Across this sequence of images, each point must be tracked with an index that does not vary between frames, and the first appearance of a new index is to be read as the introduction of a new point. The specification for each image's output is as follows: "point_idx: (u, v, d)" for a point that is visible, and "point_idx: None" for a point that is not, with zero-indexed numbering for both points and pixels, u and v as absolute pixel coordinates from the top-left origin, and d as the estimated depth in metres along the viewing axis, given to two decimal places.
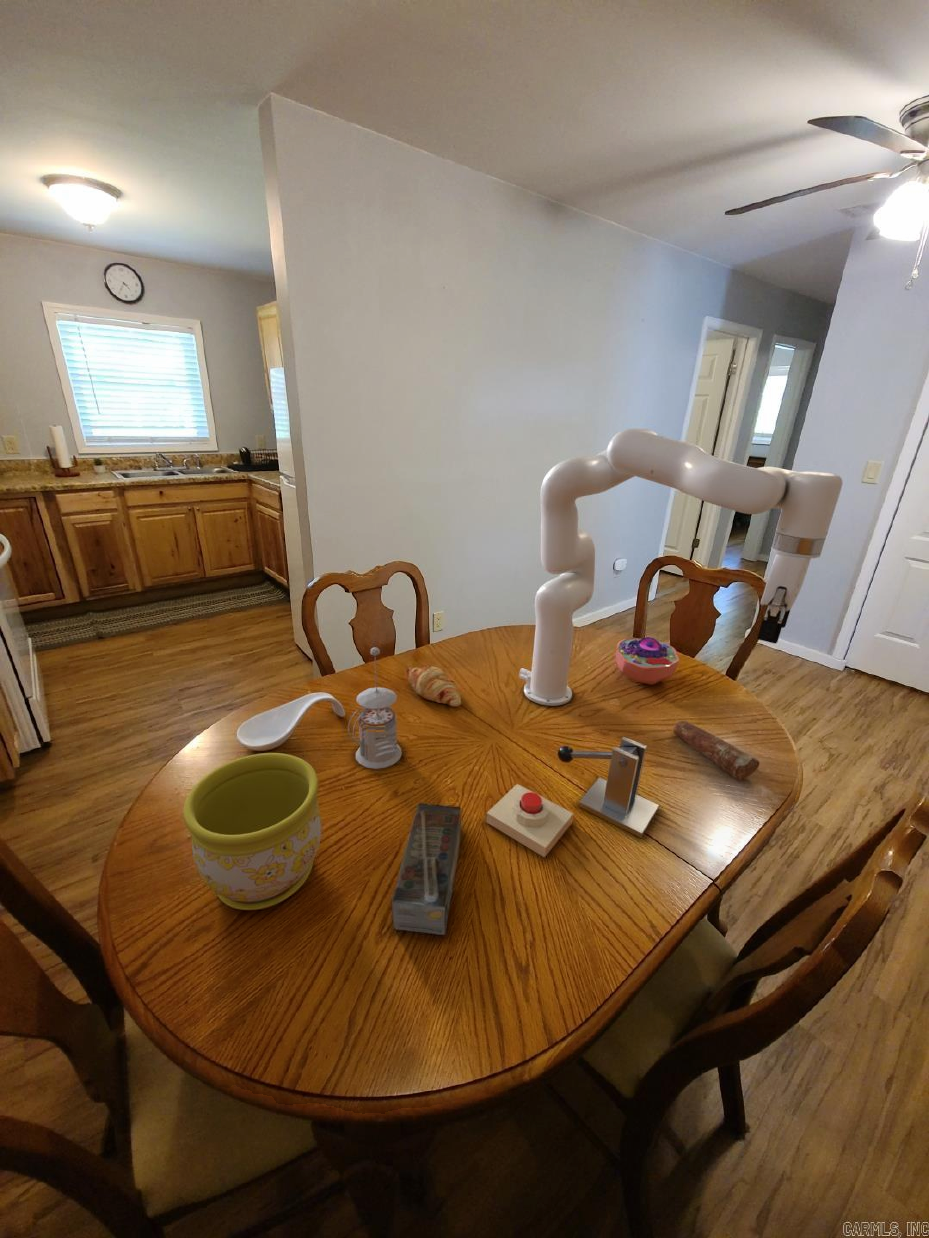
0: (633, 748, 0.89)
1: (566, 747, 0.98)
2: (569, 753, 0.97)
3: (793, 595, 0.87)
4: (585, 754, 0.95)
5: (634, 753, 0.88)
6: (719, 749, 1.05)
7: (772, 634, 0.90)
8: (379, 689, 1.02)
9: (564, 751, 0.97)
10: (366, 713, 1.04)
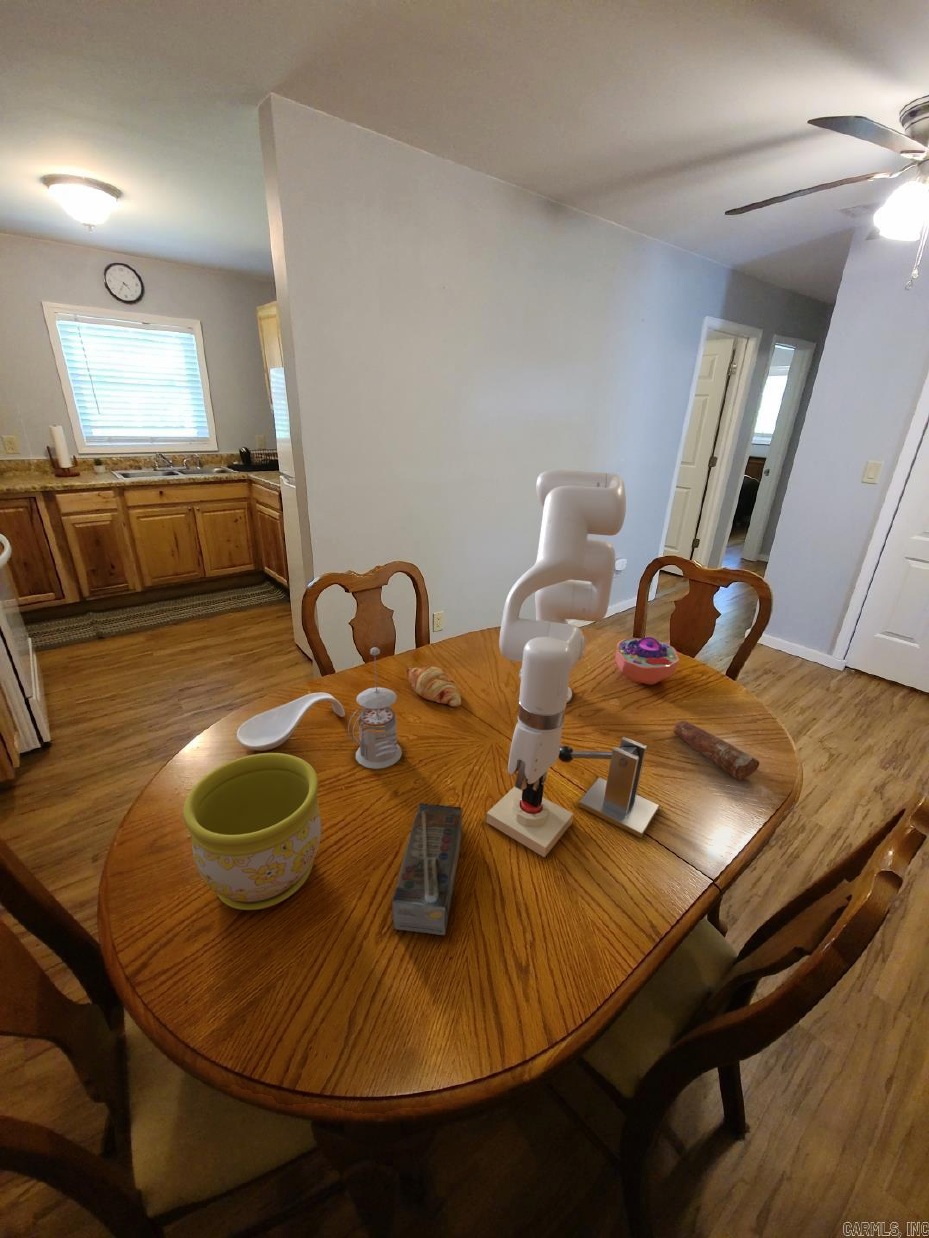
0: (633, 748, 0.89)
1: (566, 747, 0.98)
2: (569, 753, 0.97)
3: (532, 770, 0.79)
4: (585, 754, 0.95)
5: (634, 753, 0.88)
6: (719, 749, 1.05)
7: (531, 799, 0.86)
8: (379, 689, 1.02)
9: (564, 751, 0.97)
10: (366, 713, 1.04)
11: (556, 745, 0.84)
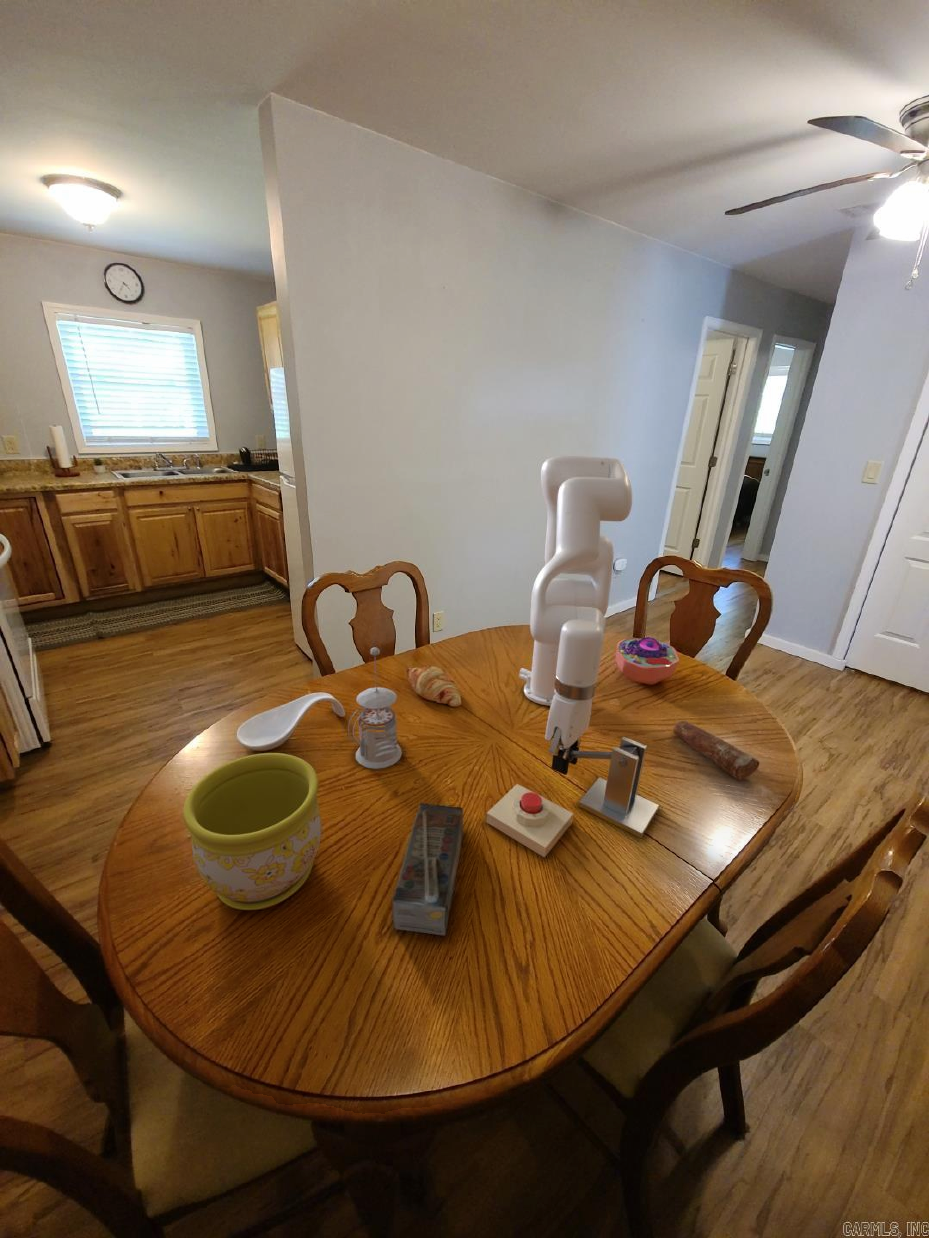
0: (633, 748, 0.89)
1: None
2: (569, 753, 0.97)
3: (567, 736, 0.91)
4: (585, 754, 0.95)
5: (634, 753, 0.88)
6: (719, 749, 1.05)
7: (560, 767, 0.96)
8: (379, 689, 1.02)
9: None
10: (366, 713, 1.04)
11: (587, 715, 0.95)
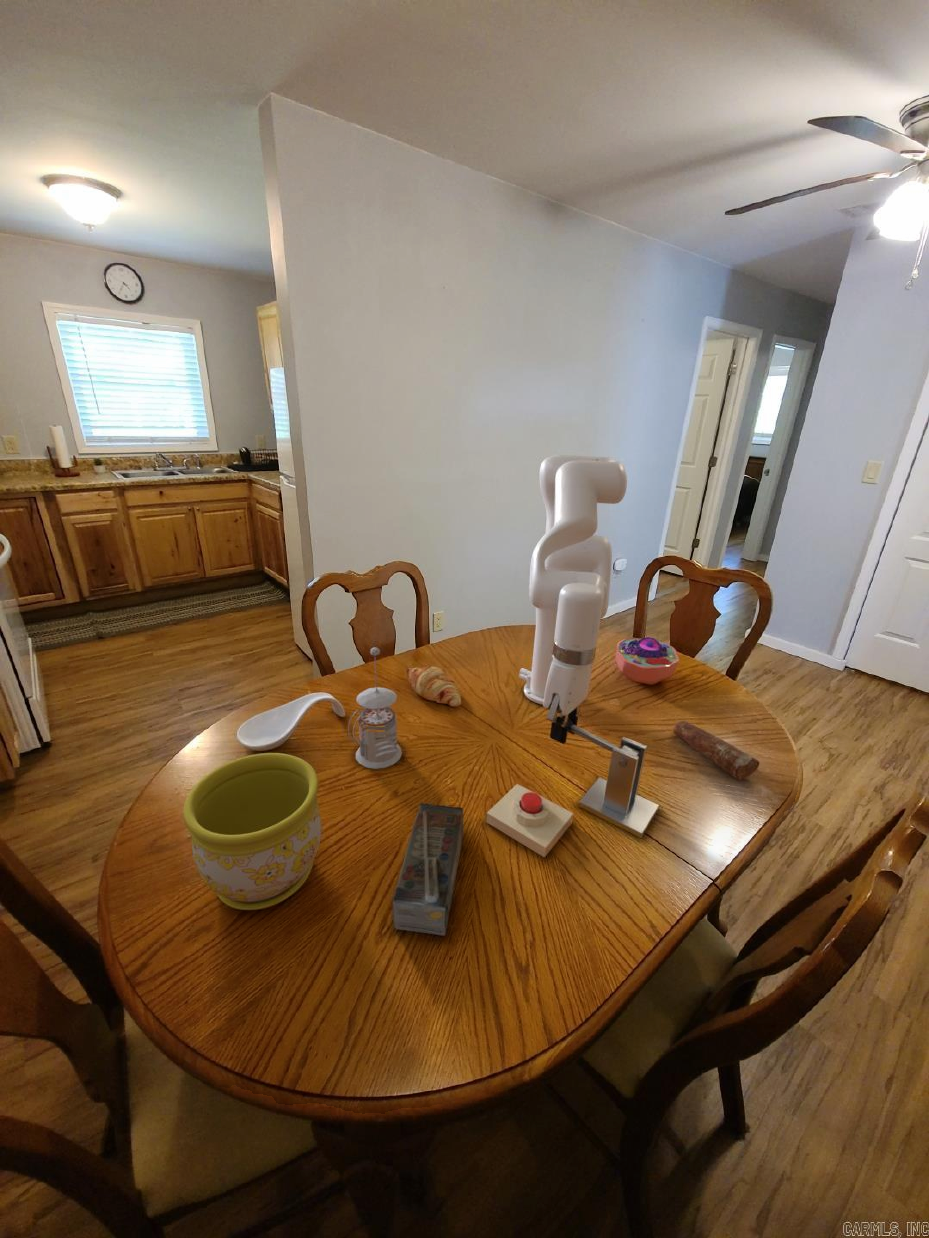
0: (636, 752, 0.89)
1: (568, 719, 0.95)
2: (569, 726, 0.95)
3: (566, 702, 0.89)
4: (585, 734, 0.93)
5: None
6: (719, 749, 1.05)
7: (559, 736, 0.94)
8: (379, 689, 1.02)
9: None
10: (366, 713, 1.04)
11: (586, 682, 0.93)
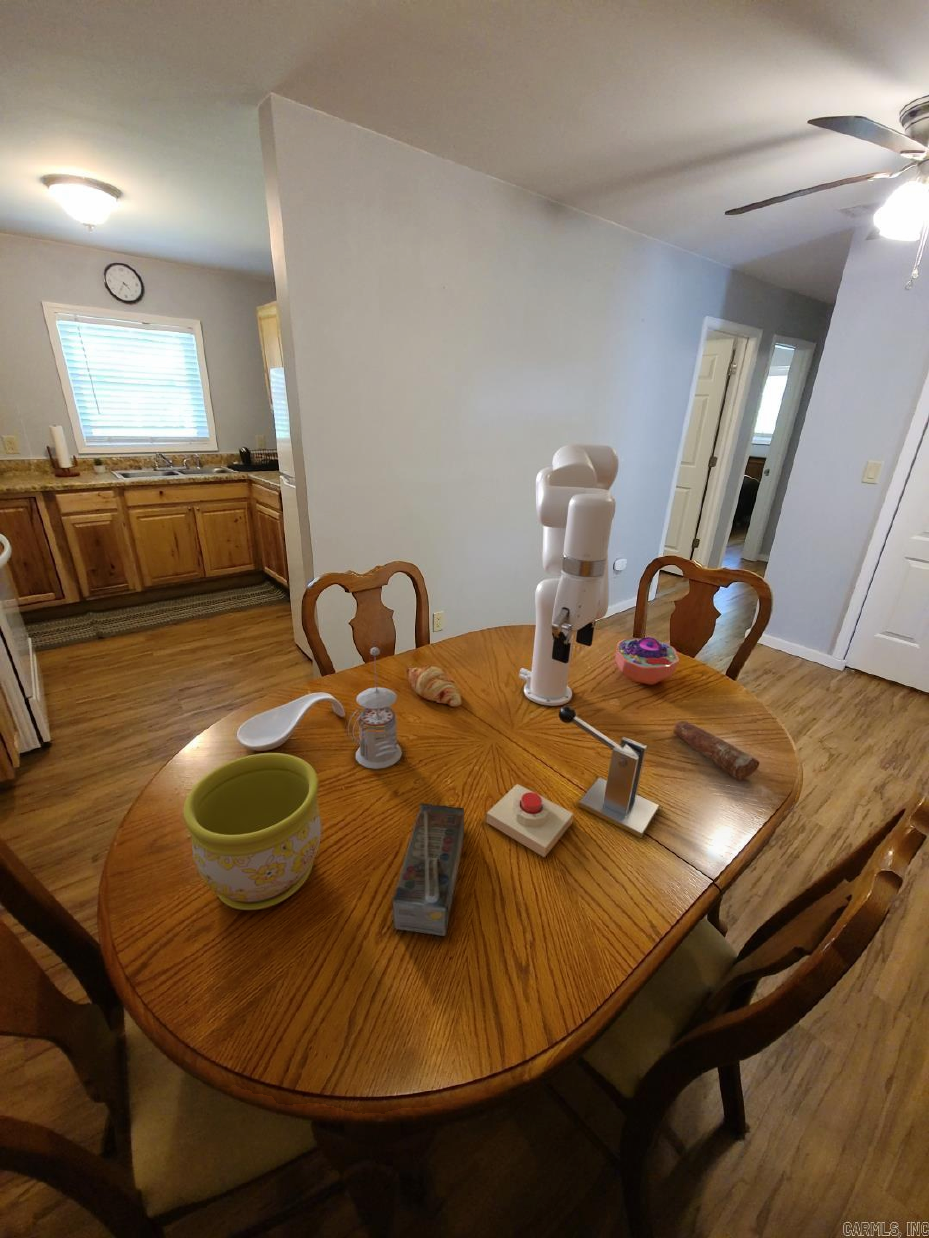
0: (637, 753, 0.89)
1: (572, 711, 0.94)
2: (572, 718, 0.94)
3: (575, 616, 0.87)
4: (587, 729, 0.93)
5: None
6: (719, 749, 1.05)
7: (561, 654, 0.90)
8: (379, 689, 1.02)
9: (568, 714, 0.94)
10: (366, 713, 1.04)
11: (596, 600, 0.92)
